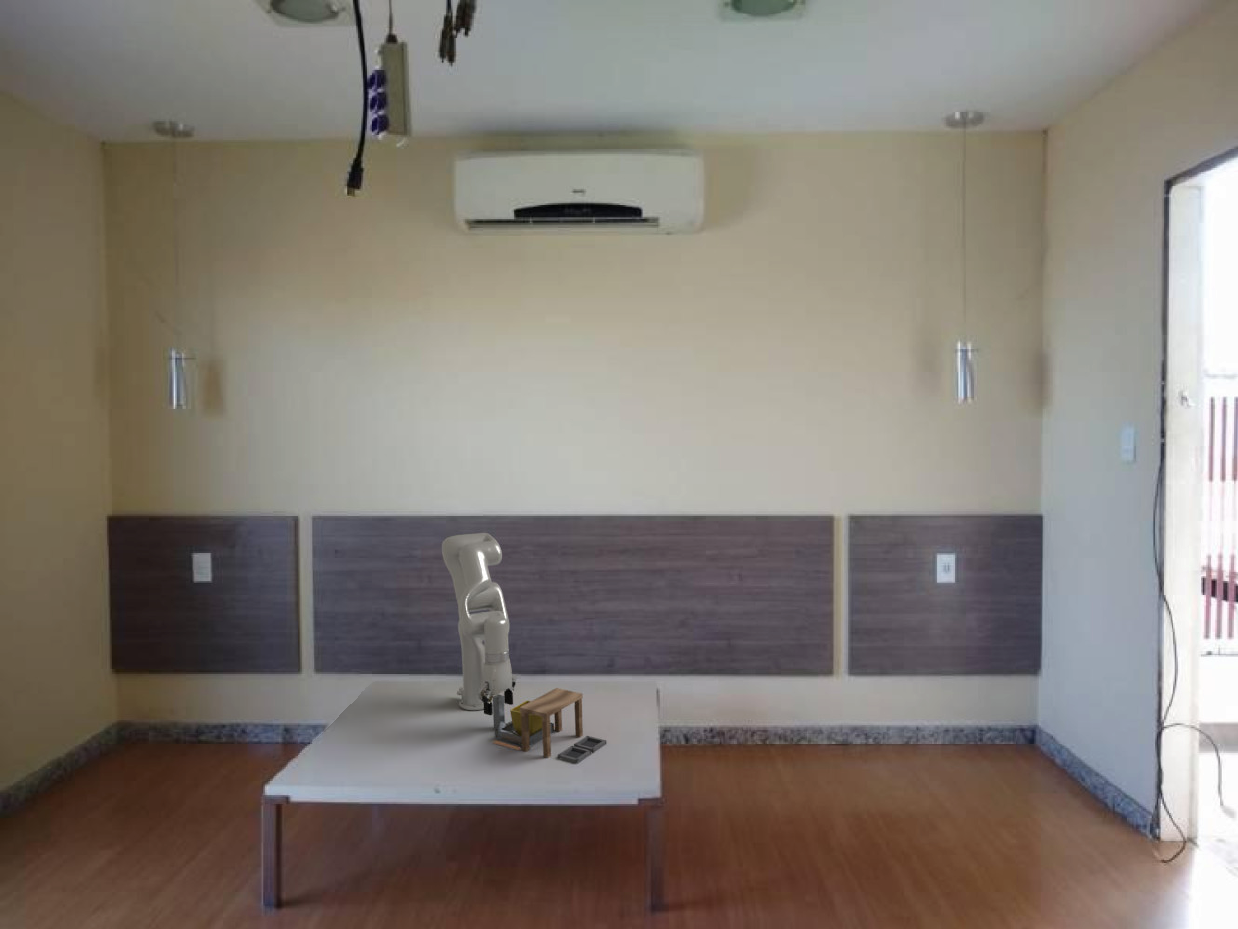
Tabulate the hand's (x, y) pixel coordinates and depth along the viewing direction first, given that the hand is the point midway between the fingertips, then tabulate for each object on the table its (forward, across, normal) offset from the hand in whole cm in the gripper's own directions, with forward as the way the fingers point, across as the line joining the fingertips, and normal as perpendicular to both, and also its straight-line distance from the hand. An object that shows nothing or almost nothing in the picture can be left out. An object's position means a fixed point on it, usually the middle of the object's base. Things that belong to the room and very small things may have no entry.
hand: (498, 709), depth 241 cm
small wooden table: (+6, 0, +22) cm, 22 cm away
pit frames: (+6, 0, +32) cm, 33 cm away
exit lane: (+6, 0, +10) cm, 12 cm away
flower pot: (+6, -1, +12) cm, 14 cm away
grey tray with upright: (+6, 0, +8) cm, 10 cm away
